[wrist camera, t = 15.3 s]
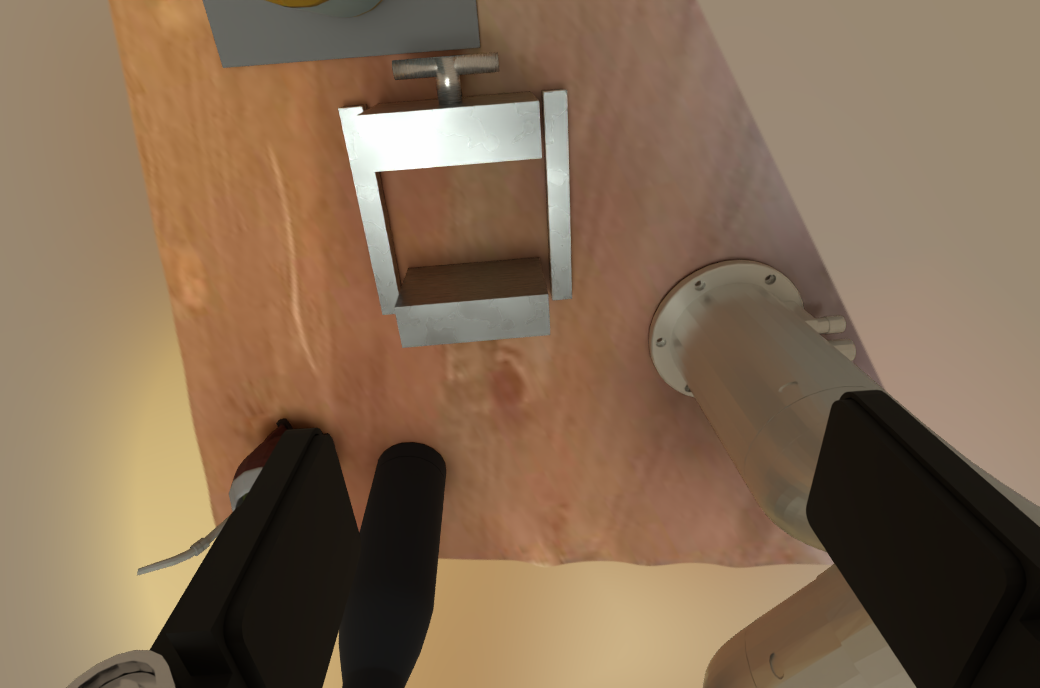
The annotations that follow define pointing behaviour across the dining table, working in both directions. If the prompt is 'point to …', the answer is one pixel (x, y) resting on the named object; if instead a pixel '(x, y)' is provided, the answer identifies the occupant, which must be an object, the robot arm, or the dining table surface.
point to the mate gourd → (231, 494)
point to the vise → (458, 141)
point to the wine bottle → (394, 569)
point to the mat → (337, 30)
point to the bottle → (331, 6)
